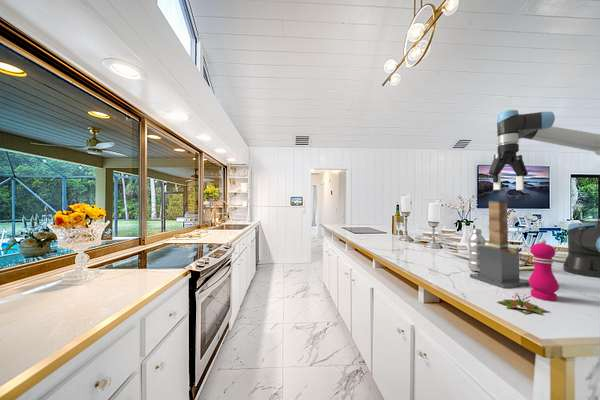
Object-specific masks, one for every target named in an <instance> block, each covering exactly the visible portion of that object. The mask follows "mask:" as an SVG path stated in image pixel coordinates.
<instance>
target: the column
mask: <svg viewBox="0 0 600 400" xmlns="http://www.w3.org/2000/svg"><path fill="white" fill-rule="evenodd" d="M488 223H489V224H488V234H489V237H488V239H489V241H488V242H489V243H488V246H489V247H493V248H498V249H506V248H508V247H509V242H508V241H509V240H508V239H509V238H508V235H509V234H508V233H509V232H508V200H488Z"/></svg>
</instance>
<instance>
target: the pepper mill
mask: <svg viewBox="0 0 600 400" xmlns="http://www.w3.org/2000/svg"><path fill="white" fill-rule="evenodd" d="M530 254H531V255H533V256H532V262H534V268H533V270H532V273H531V275H530V276H529V278H528V281H529V285H530V287H531V288H532V289H530V296H531V297H533V298H536V299H538V300H541V301H542V300H543V301H546V302H547V301H549V302H554V301H555V302H556V301H557V300H558V298H557V297H558V295H557V293H556V292H557V291H558V290H559V289H560V288H559V283H558V281H557V279H556V277H555V276H554V273H553V268H552V264H553V263H554V259H553V257H555V255H556V250H555V248H554V247H553V246H552V245H550V244H547V240H546V239H544V238H541V239H540V238H539V240H538V243H534V244H533V245H532V246H531V247H530Z"/></svg>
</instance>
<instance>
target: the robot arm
mask: <svg viewBox="0 0 600 400" xmlns="http://www.w3.org/2000/svg"><path fill="white" fill-rule="evenodd" d="M555 118H556V117H555V114H554V112H552V111H539V112H532V113H531V112H530V113H522V114H521V113H520V114H519V111H518V110H517V109H508V110H504V111H501V112H500V113H499V114H497V119H496V128H497V131H496V132H497V133H496V134H497V145H498V146H497V154H494V155H493V160H492V163H491V165H490V167H489V171H488V175H489V176H490V177H492V182H493V183H492V184H493V185H492V186H493V188H492V189H493V191H497V190H502V187H501V185H502V181H501V177H502V175H501V172H502V170H503V168H505V166H506V165H507V166H510V167H511V168H512V170H513V171H514V174H515V175H516V176H515V190H516V191H524V185H525V183H524V182H525V179H524V178H525V177H526V176H528V170H527V167H526V165H525V163H524V160H523V155H522V154H519V155H517V153H518V152H519V151H520V149H519V148H520V147H519V145H520V144H519V142H520V141H519V140H520V139H521V140H522V139H527V140H532V141H538V142H542V143H546V144H547V143H548V144H552V145H559V146H562V147H563V146H564V147H568V148H574V149H579V150H584V151H589V152H594V154H595V155H597V156H600V134H599V133H593V132H588V131H581V130H577V129H576V130H575V129H569V128H564V127H559V126H553V125H554V123H555V120H556V119H555ZM566 231H567V251H568V253H567V254H568V255H567V257H566V258H565V261H564V263H563V266H562V268H563V271H565V272H567V273H571V274H575V275H581V276H586V277H587V276H588V277H594V278H600V218H599V219H597V221H596V222H576V223H575V222H573V223H570V224H568V226H567V230H566Z"/></svg>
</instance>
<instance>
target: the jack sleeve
mask: <svg viewBox="0 0 600 400" xmlns="http://www.w3.org/2000/svg"><path fill="white" fill-rule="evenodd" d="M479 247H480V272H478V273H469V278H470V277H471V279H473V278H474V280H476V279H477V281H479V280H480V282H482V283H483V282H484V283H485V284H489V285H491V286H494V287H495V286H496V287H498V288H502V289H511V288H510V287H512V288H521V287H520V286H522V287H529V286H530V285H529V280H526V279H522V278H520V249H519V248H515V247H509V246H508V248H506V249H498V248H493V247H489V245H485V246H479ZM530 287H531V286H530Z"/></svg>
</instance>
